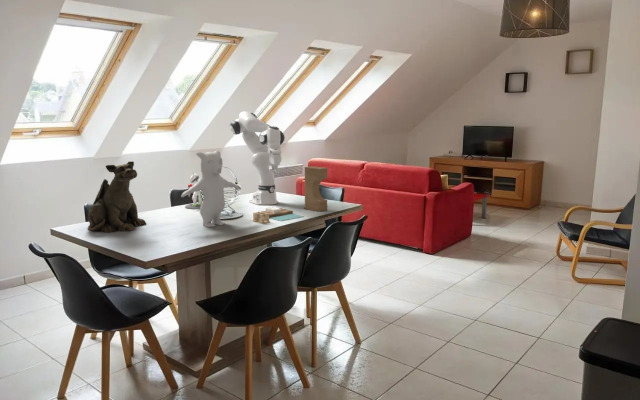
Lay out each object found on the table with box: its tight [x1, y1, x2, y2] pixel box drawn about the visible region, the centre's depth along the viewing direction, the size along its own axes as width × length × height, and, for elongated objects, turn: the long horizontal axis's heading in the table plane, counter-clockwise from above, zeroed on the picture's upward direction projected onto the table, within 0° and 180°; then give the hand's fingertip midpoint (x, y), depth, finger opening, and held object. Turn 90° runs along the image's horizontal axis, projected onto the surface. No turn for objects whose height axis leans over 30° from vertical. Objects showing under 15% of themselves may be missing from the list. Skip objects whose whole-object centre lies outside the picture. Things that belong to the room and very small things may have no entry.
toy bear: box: [180, 150, 242, 228], centre depth 309 cm, size 42×17×45 cm, turn 135°
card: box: [265, 206, 281, 213], centre depth 344 cm, size 9×6×2 cm, turn 43°
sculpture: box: [87, 161, 147, 233], centre depth 301 cm, size 31×36×40 cm
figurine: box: [184, 172, 203, 210], centre depth 368 cm, size 17×17×25 cm
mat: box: [269, 213, 305, 222], centre depth 334 cm, size 12×20×1 cm, turn 133°
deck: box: [255, 208, 294, 218], centre depth 343 cm, size 13×22×2 cm, turn 133°
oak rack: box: [252, 211, 271, 225], centre depth 321 cm, size 10×6×6 cm, turn 43°
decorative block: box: [304, 165, 328, 213], centre depth 358 cm, size 15×8×30 cm, turn 48°
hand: (274, 170), depth 350 cm, fingers open, 8 cm apart
